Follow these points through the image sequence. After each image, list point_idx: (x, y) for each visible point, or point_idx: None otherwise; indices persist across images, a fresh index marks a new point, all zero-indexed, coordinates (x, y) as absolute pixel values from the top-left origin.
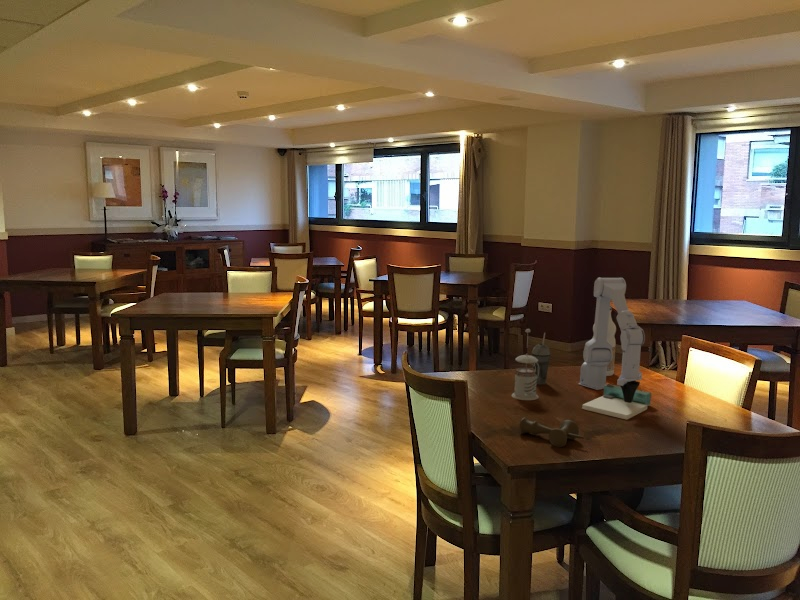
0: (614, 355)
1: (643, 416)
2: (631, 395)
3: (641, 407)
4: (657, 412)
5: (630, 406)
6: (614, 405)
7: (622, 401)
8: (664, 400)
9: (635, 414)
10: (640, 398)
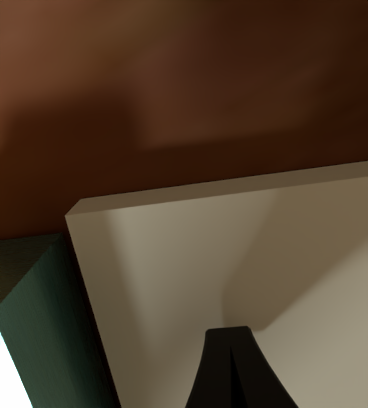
0: None
1: (336, 88)
2: (289, 396)
3: (207, 205)
4: (77, 73)
5: (270, 288)
6: (355, 380)
7: (180, 397)
8: None
9: (366, 164)
10: (46, 330)
